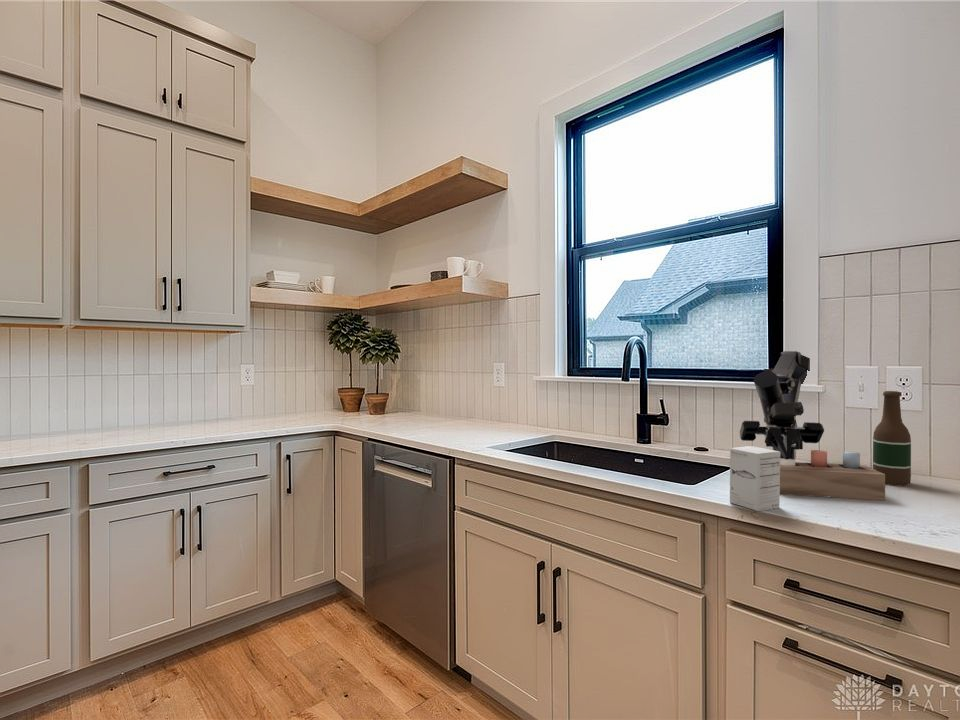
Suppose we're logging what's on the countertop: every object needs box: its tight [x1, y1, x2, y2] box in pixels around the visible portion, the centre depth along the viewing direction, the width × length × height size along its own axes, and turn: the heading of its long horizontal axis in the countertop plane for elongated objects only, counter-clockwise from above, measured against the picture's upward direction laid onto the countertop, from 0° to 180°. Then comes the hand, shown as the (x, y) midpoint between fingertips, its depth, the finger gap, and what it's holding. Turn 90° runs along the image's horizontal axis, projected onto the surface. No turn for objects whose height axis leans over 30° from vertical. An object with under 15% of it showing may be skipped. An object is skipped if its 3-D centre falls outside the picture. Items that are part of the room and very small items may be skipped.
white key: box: [780, 458, 796, 466], centre depth 130 cm, size 3×3×4 cm
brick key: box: [810, 449, 828, 467], centre depth 128 cm, size 3×3×4 cm
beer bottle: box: [872, 390, 912, 487], centre depth 135 cm, size 8×8×24 cm
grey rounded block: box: [842, 451, 861, 469], centre depth 126 cm, size 3×3×4 cm
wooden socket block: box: [780, 461, 886, 501], centre depth 126 cm, size 10×22×6 cm, turn 75°
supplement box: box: [729, 445, 781, 512], centre depth 115 cm, size 7×7×13 cm
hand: (787, 458), depth 130 cm, fingers closed, pressing on white key
